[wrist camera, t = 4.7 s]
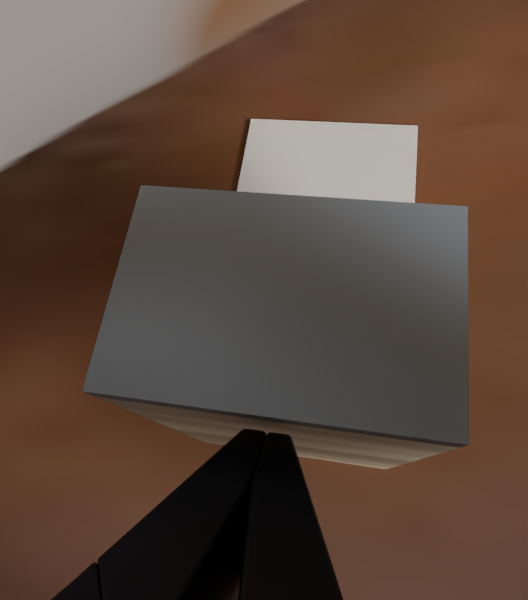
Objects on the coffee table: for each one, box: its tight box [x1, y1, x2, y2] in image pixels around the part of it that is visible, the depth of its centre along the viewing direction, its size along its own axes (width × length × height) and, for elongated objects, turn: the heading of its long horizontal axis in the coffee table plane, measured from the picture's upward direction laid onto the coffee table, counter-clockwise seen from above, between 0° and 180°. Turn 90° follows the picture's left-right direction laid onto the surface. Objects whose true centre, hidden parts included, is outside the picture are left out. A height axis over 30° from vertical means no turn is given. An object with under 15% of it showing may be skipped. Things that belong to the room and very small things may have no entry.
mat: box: [237, 119, 418, 203], centre depth 19 cm, size 9×7×1 cm
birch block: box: [82, 185, 469, 469], centre depth 12 cm, size 4×6×9 cm, turn 81°
